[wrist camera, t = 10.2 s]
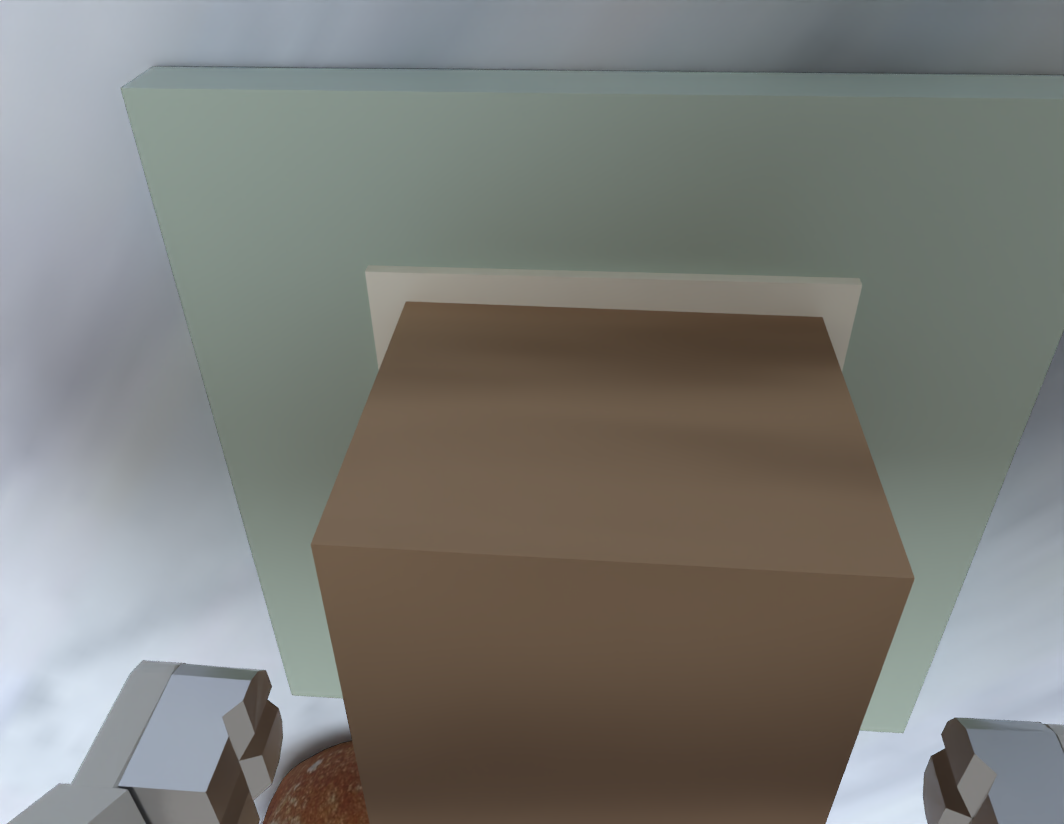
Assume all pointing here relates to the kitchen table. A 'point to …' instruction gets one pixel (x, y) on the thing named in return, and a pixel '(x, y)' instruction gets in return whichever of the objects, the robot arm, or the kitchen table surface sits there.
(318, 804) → the bread roll
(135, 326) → the kitchen table surface
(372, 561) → the walnut block
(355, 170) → the mat
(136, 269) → the kitchen table surface
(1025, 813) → the robot arm
